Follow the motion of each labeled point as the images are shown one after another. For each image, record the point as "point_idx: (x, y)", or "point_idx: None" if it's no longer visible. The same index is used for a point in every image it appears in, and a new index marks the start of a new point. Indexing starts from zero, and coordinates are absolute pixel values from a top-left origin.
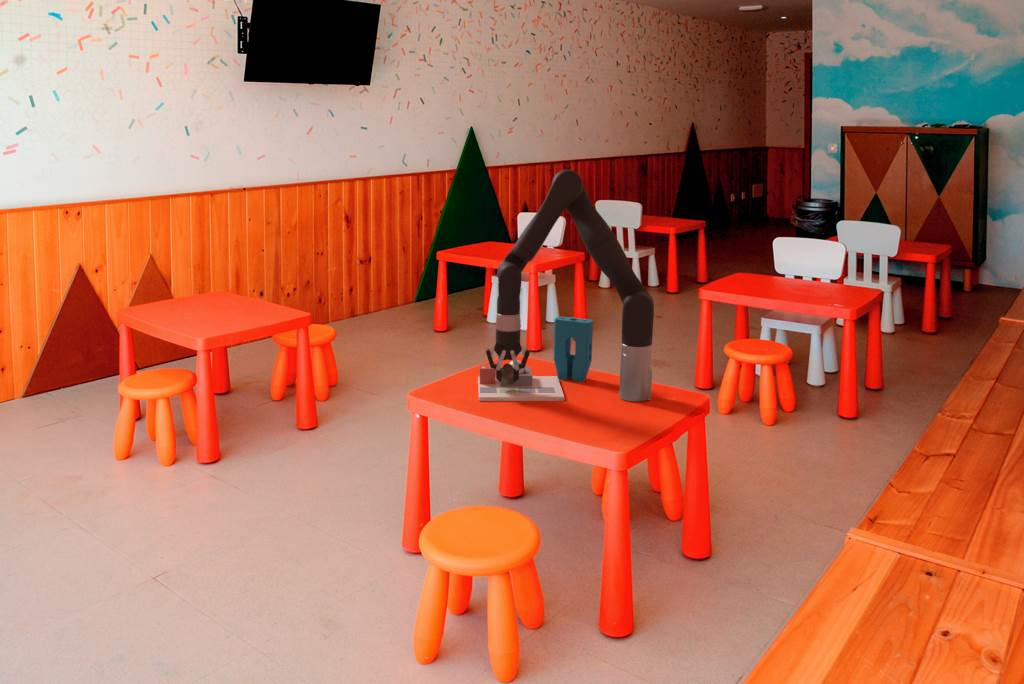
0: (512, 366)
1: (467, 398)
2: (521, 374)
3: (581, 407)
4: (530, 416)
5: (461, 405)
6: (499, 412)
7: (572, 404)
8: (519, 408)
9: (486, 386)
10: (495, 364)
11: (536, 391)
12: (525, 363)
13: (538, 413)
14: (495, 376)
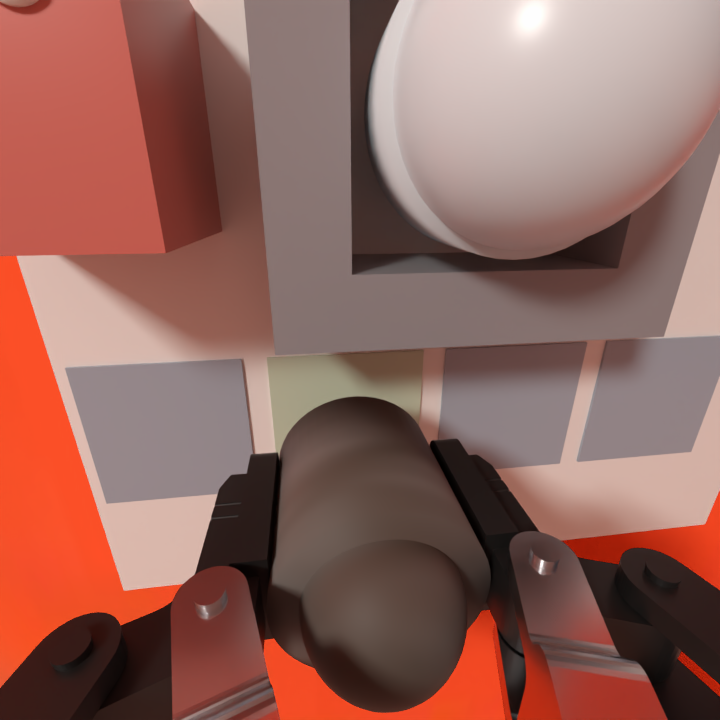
0: (489, 219)
1: (27, 523)
2: (552, 291)
3: (717, 584)
4: (443, 707)
5: (31, 642)
6: (292, 693)
7: (696, 552)
8: None
9: (132, 322)
10: (154, 713)
11: (571, 437)
12: (705, 716)
13: (488, 674)
14: (199, 239)
